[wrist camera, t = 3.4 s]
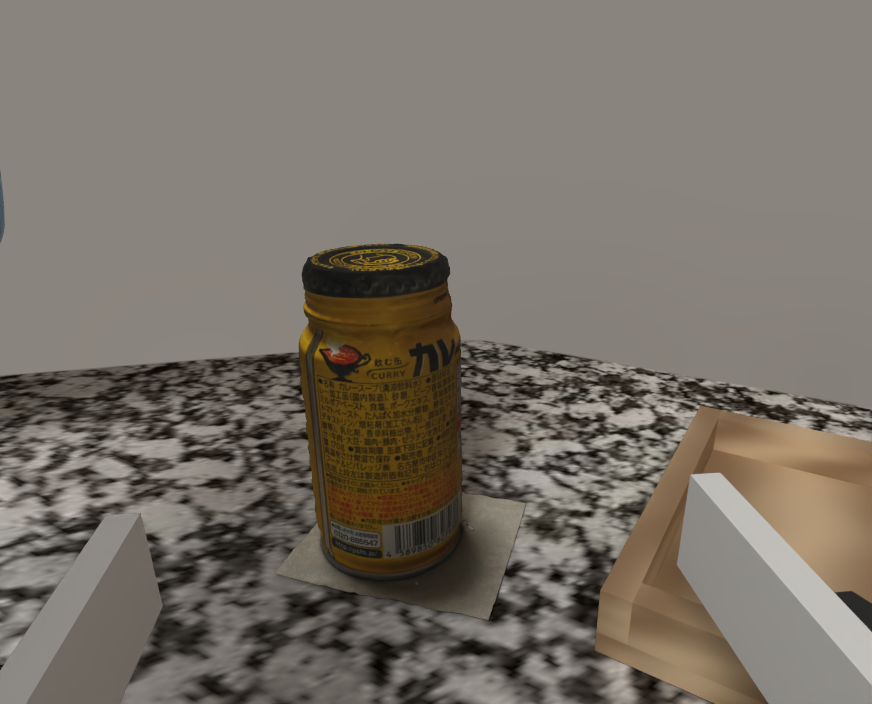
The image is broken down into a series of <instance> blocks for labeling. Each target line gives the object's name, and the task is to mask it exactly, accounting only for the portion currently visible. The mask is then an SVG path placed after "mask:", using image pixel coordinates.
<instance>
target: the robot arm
mask: <svg viewBox="0 0 872 704" xmlns="http://www.w3.org/2000/svg"><path fill="white" fill-rule="evenodd" d="M4 226H5V223H4V201H3V191H2V181H1V173H0V242H1V240H2V237H3V233H4ZM677 566H678V567H679V569H680V570H681V572H682V573H683V575H684V576H685V578H686V579H687V581H688V583H689V584H690V586H691V587H692V589H693V590H694V592H695V593H696V595H697V596H698V598H699V599H700V601H701V602H702V604H703V605H704V607H705V608H706V610H707V611H708V613H709V614H710V616H711V617H712V619H713V620H714V622H715V623H716V625H717V626H718V628H719V630H720V631H721V633H722V634H723V636H724V637H725V639H726V640H727V642H728V643H729V645H730V646H731V648H732V649H733V651H734V652H735V654H736V655H737V657H738V658H739V660H740V661H741V663H742V664H743V666H744V667H745V669H746V670H747V672H748V674H749V675H750V677H751V678H752V680H753V681H754V683H755V684H756V686H757V687H758V689H759V690H760V692H761V693H762V695H763V696H764V698H765V699H766V701H767V702H768V704H872V603H870V602H869V601H867V600H866V599H864V598H862V597H861V596H859V595H858V594H856V593H855V592H853V591H844V592H833V591H832V590H831V589H830V588H829V587H828V585H827V584H826V583H825V582H824V581H823V580H822V579H821V578H820V577H819V576H818V575H817V574H816V573H815V572H814V571H813V570H812V569H811V568H810V567H809V565H808V564H807V563H806V562H805V561H804V560H803V559H802V558H801V557H800V556H799V555H798V554H797V553H796V552H795V551H794V550H793V549H792V548H791V547H790V545H789V544H788V543H787V542H786V541H785V540H784V539H783V538H782V537H781V536H780V535H779V534H778V533H777V532H776V531H775V530H774V529H773V528H772V527H771V525H770V524H769V523H768V522H767V521H766V520H765V519H764V518H763V517H762V516H761V515H760V514H759V513H758V512H757V511H756V510H755V509H754V508H753V507H752V505H751V504H750V503H749V502H748V501H747V500H746V499H745V498H744V497H743V496H742V495H741V494H740V493H739V492H738V491H737V490H736V489H735V488H734V487H733V485H732V484H731V483H730V482H729V481H728V480H727V479H726V478H725V477H724V476H723V475H722V474H721V473H707V474H692V475H690V480H689V486H688V493H687V500H686V507H685V513H684V520H683V527H682V534H681V540H680V547H679V554H678V561H677ZM162 606H163V605H162V601H161V597H160V593H159V589H158V584H157V580H156V576H155V572H154V568H153V563H152V559H151V555H150V551H149V547H148V542H147V538H146V534H145V530H144V526H143V521H142V517H141V513H131V514H117V515H106V516H105V518H104V519H103V521H102V522H101V523H100V525H99V526H98V528H97V529H96V531H95V532H94V534H93V535H92V537H91V538H90V540H89V541H88V543H87V544H86V545H85V547H84V548H83V550H82V551H81V553H80V554H79V556H78V557H77V559H76V560H75V562H74V563H73V564H72V566H71V567H70V569H69V570H68V572H67V573H66V575H65V576H64V578H63V579H62V581H61V582H60V584H59V585H58V586H57V588H56V589H55V591H54V592H53V594H52V595H51V597H50V598H49V600H48V601H47V603H46V604H45V606H44V607H43V608H42V610H41V611H40V613H39V614H38V616H37V617H36V619H35V620H34V622H33V623H32V625H31V626H30V627H29V629H28V630H27V632H26V633H25V635H24V636H23V638H22V639H21V641H20V642H19V644H18V645H17V647H16V648H15V649H14V651H13V652H12V654H11V655H10V657H9V658H8V660H7V661H6V663H5V664H4V665H0V704H120V702H121V699H122V697H123V695H124V693H125V690H126V688H127V686H128V683H129V681H130V679H131V677H132V674H133V672H134V670H135V668H136V665H137V663H138V661H139V659H140V656H141V654H142V652H143V649H144V647H145V645H146V643H147V640H148V638H149V636H150V634H151V631H152V629H153V627H154V625H155V622H156V620H157V618H158V616H159V613H160V611H161V609H162Z"/></svg>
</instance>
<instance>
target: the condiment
mask: <svg viewBox="0 0 872 704" xmlns="http://www.w3.org/2000/svg"><path fill="white" fill-rule="evenodd" d="M448 265H449V264H448V259H447V258H446V257H445V256H443V255H442V254H441V253H440V252H438V251H435V250H434V249H430V248H426V247H422V246H415V245H403V244H370V245H369V244H367V245H359V246H348V247H341V248H337V249H331V250H327V251H323V252H320V253H317V254H315V255H314V256H312V257H308V259H307V261H306V263H305V265H304V267H303V271H302V281H303V284H304V290H305V299H306V302H305V303H304V313H305V315H306V316H307V317H308V320H309V323H308V325H307V327H306V328H305V330H304V331H303V333H302V335H301V337H300V341H299V357H300V361H299V365H300V367H301V371H302V373H301V378H300V380H301V383H302V395H303V398H304V404H305V409H306V419H307V422H306V431H307V434H308V441H309V445H308V450H309V454H310V461H309V463H310V466H311V469H312V483H313V489H314V491H313V492H314V496H315V512H316V519H317V523H316V525H315V526H314V527H313V528H312V529H311V530H310V532H309V533H308V534H307V536H306V537H305V538H304V539H303V541H301V542H300V543H299V544H298V545H297V547H295V548H294V549H293V551H292V552H291V553H290V555H289V556H288V557H287V558H286V559H285V560H284V562H283V563H282V564H281V565H280V567H279V568H278V569H277V571H276V572H275V573H274V574H278V575H282V576H287V577H290V578H294V579H298V580H302V581H305V582H309V583H312V584H316V585H322V586H323V585H326V586H329V587H331V588H333V589H337V590H342V591H346V592H355V593H357V594H360V595H367V596H375V597H378V598H389V599H396V600H400V601H402V602H404V603H408V604H412V605H419V606H422V607H425V608H428V609H432V610H438V611H443V612H455V613H462V614H465V615H468V616H472V617H476V618H481V619H485V620H488V619H489V617H490V614H491V611H492V608H493V604H494V603H495V600H496V597H497V593H498V591H499V588H500V585H501V581H502V578H503V576H504V573H505V569H506V566H507V563H508V560H509V557H510V553H511V550H512V548H513V545H514V541H515V537H516V534H517V530H518V528H519V525H520V522H521V518H522V514H523V511H524V508H525V505H526V503H520V502H514V501H512V500H506V499H495V498H490V497H488V496H484V495H472V494H467V493H464V492H463V491H462V479H463V478H462V447H461V445H462V443H461V383H462V381H461V349H460V346H461V345H460V341H461V340H460V334H459V330H458V327H457V326H456V325H455V323H454V322H453V320H452V319H451V310H452V303H451V296H450V294H449V291H448V283H447V278H448V277H449V275H450V267H449V266H448ZM463 520H465V521H466V522H467V525H471V526H472V527H473V528H474V530H470V529H469V528H468V527H467V525H465V524H463V523H462V521H463ZM415 582H418V583H419V585H414V584H415Z"/></svg>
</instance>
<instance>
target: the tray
mask: <svg viewBox="0 0 872 704" xmlns="http://www.w3.org/2000/svg"><path fill="white" fill-rule="evenodd" d="M707 473H721V474H722V475H723V476H724V477H725V478H726V479H727V480H728V481H729V482H730V483H731V484H732V485H733V487H734V488H735V489H736V490H737V491H738V492H739V493H740V494H741V495H742V496H743V497H744V498H745V499H746V500H747V501H748V502H749V503H750V504H751V505H752V507H753V508H754V509H755V510H756V511H757V512H758V513H759V514H760V515H761V516H762V517H763V518H764V519H765V520H766V521H767V522H768V523H769V524H770V525H771V527H772V528H773V529H774V530H775V531H776V532H777V533H778V534H779V535H780V536H781V537H782V538H783V539H784V540H785V541H786V542H787V543H788V544H789V545H790V547H791V548H792V549H793V550H794V551H795V552H796V553H797V554H798V555H799V556H800V557H801V558H802V559H803V560H804V561H805V562H806V563H807V564H808V565H809V567H810V568H811V569H812V570H813V571H814V572H815V573H816V574H817V575H818V576H819V577H820V578H821V579H822V580H823V581H824V582H825V583H826V584H827V585H828V587H829V588H830V589H831V590H832V591H833V592H844V591H853V592H855V593H856V594H858V595H859V596H861V597H862V598H864V599H866V600H867V601H869V602H870V603H872V442H869V441H864V440H859V439H855V438H850V437H845V436H840V435H836V434H831V433H826V432H822V431H817V430H812V429H807V428H803V427H798V426H793V425H788V424H784V423H779V422H774V421H770V420H765V419H760V418H755V417H751V416H746V415H741V414H737V413H732V412H727V411H722V410H718V409H713V408H708V407H704V406H700V408H699V410H698V411H697V413H696V415H695V417H694V419H693V421H692V422H691V424H690V426H689V428H688V430H687V432H686V434H685V435H684V437H683V439H682V441H681V443H680V445H679V446H678V448H677V450H676V452H675V454H674V456H673V457H672V459H671V461H670V463H669V465H668V467H667V469H666V470H665V472H664V474H663V476H662V478H661V480H660V481H659V483H658V485H657V487H656V489H655V491H654V492H653V494H652V496H651V498H650V500H649V502H648V504H647V505H646V507H645V509H644V511H643V513H642V515H641V516H640V518H639V520H638V522H637V524H636V526H635V528H634V529H633V531H632V533H631V535H630V537H629V539H628V540H627V542H626V544H625V546H624V548H623V550H622V551H621V553H620V555H619V557H618V559H617V561H616V563H615V564H614V566H613V568H612V570H611V572H610V574H609V575H608V577H607V579H606V581H605V583H604V585H603V586H602V588H601V590H600V600H599V611H598V622H597V632H596V643H595V651H597V652H599V653H602V654H604V655H606V656H609V657H611V658H613V659H615V660H618V661H620V662H622V663H624V664H627V665H629V666H631V667H633V668H636V669H638V670H640V671H642V672H645V673H647V674H649V675H651V676H654V677H656V678H658V679H660V680H663V681H665V682H667V683H669V684H672V685H674V686H676V687H679V688H681V689H683V690H685V691H688V692H690V693H692V694H694V695H697V696H699V697H701V698H703V699H706V700H708V701H710V702H712V703H715V704H768V702H767V701H766V699H765V698H764V696H763V695H762V693H761V692H760V690H759V689H758V687H757V686H756V684H755V683H754V681H753V680H752V678H751V677H750V675H749V674H748V672H747V670H746V669H745V667H744V666H743V664H742V663H741V661H740V660H739V658H738V657H737V655H736V654H735V652H734V651H733V649H732V648H731V646H730V645H729V643H728V642H727V640H726V639H725V637H724V636H723V634H722V633H721V631H720V630H719V628H718V626H717V625H716V623H715V622H714V620H713V619H712V617H711V616H710V614H709V613H708V611H707V610H706V608H705V607H704V605H703V604H702V602H701V601H700V599H699V598H698V596H697V595H696V593H695V592H694V590H693V589H692V587H691V586H690V584H689V583H688V581H687V579H686V578H685V576H684V575H683V573H682V572H681V570H680V569H679V567H678V566H677V561H678V554H679V547H680V540H681V534H682V527H683V520H684V513H685V507H686V500H687V493H688V486H689V480H690V475H692V474H707Z"/></svg>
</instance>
